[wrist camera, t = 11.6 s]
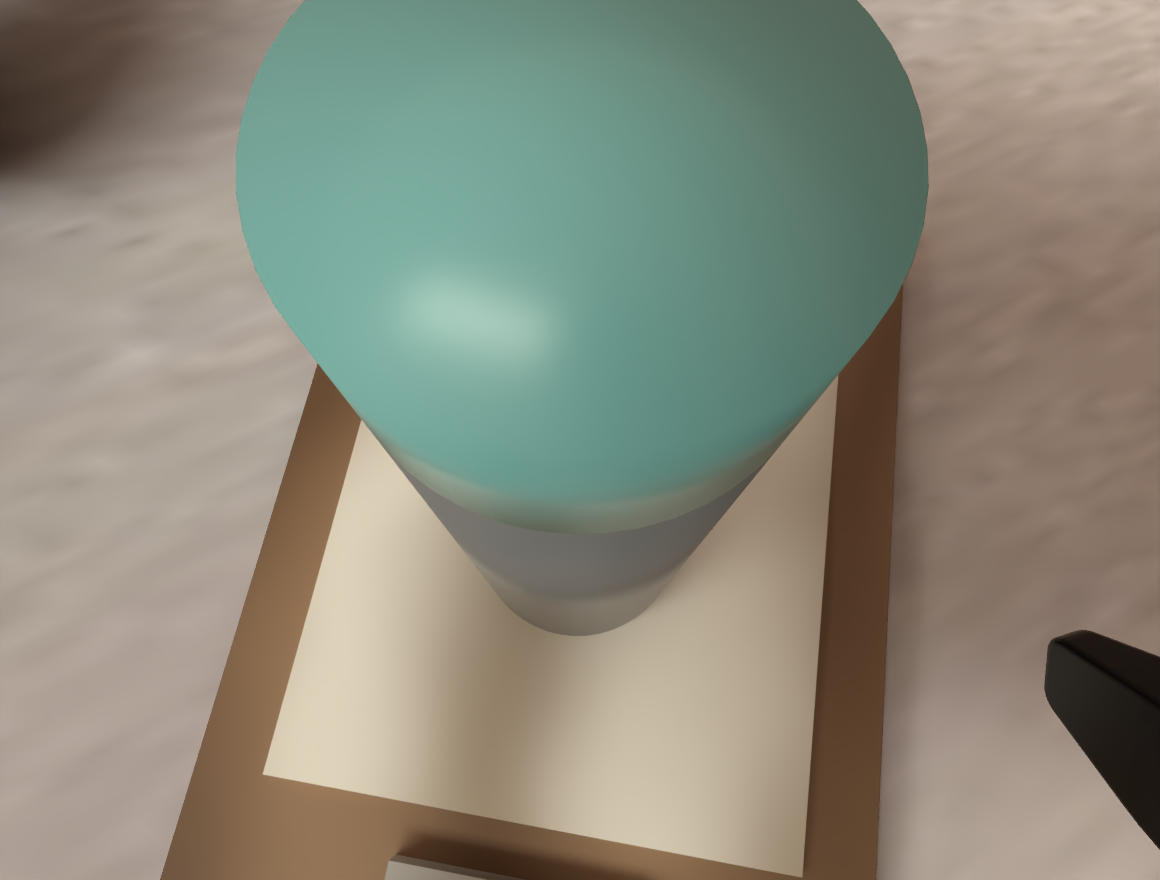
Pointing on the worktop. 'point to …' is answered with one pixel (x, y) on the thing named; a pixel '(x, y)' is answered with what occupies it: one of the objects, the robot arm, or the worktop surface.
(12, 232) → the worktop surface
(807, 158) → the green-topped grey cylinder
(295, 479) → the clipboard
